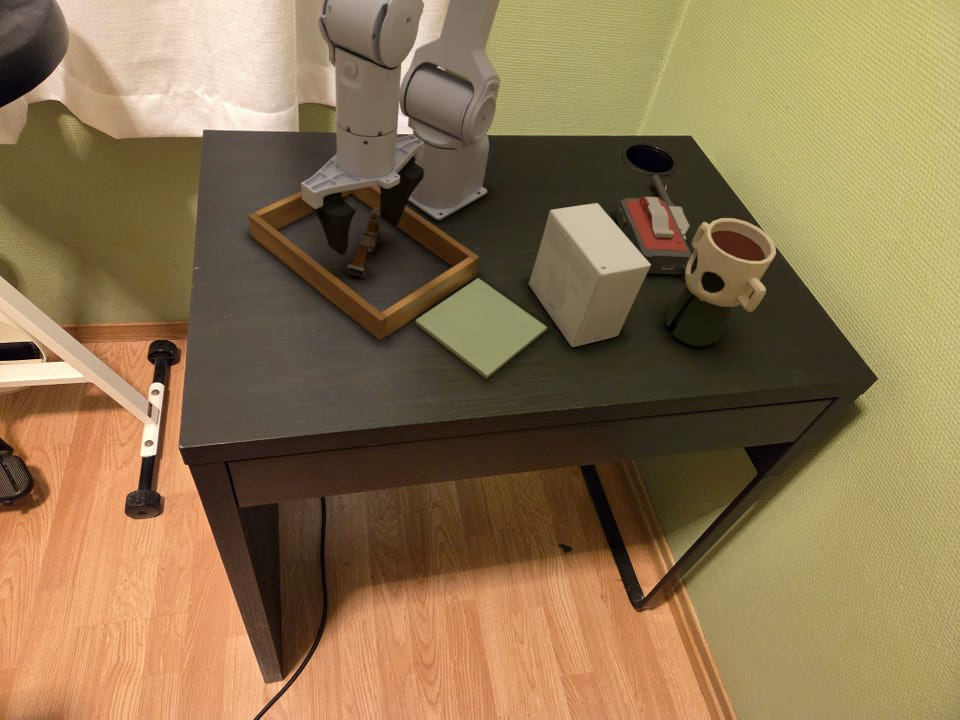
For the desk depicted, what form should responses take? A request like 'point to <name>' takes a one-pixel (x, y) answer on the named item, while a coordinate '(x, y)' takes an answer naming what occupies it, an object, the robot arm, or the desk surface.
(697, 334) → the character mug
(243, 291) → the desk surface
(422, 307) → the wooden frame
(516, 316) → the mat
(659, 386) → the desk surface
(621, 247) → the cosmetics box
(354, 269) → the wooden post with brackets
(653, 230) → the walkie-talkie
